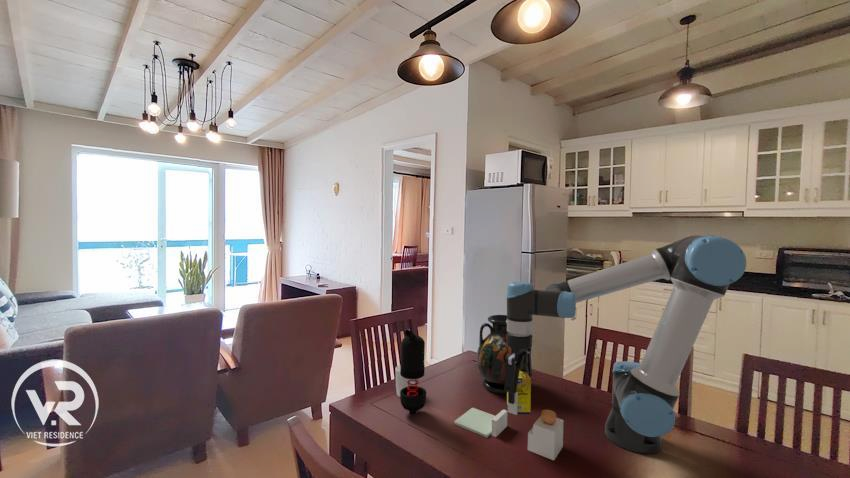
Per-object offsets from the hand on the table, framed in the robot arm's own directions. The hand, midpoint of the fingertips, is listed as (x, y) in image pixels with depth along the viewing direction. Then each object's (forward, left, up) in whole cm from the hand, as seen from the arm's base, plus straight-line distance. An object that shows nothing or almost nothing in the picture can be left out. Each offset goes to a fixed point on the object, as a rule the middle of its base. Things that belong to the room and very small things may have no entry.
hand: (518, 407), depth 108 cm
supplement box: (0, 0, -1) cm, 1 cm away
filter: (+34, +8, -10) cm, 37 cm away
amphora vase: (+19, -30, -10) cm, 37 cm away
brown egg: (-9, 0, -5) cm, 11 cm away
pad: (+13, 0, -9) cm, 16 cm away
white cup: (+45, 0, -10) cm, 46 cm away
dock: (-3, 0, -9) cm, 10 cm away
